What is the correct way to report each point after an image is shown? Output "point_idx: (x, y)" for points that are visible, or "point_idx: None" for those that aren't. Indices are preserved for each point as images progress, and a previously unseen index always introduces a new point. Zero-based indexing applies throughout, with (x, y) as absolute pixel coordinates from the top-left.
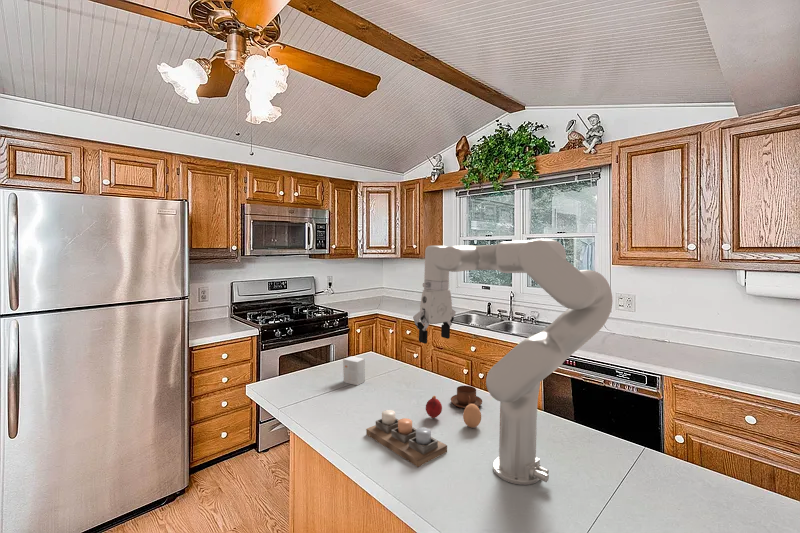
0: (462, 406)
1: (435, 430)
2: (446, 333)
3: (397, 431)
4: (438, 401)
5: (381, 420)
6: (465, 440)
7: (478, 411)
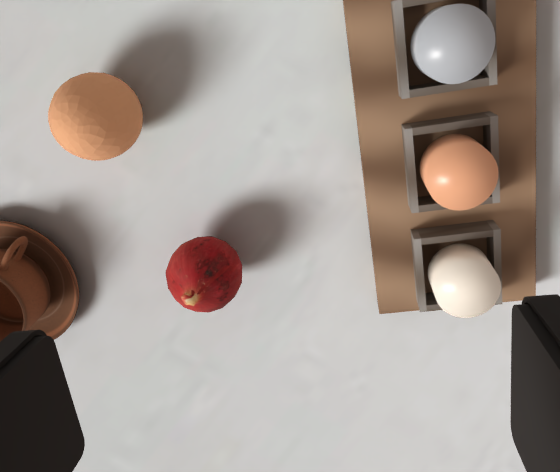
0: (59, 251)
1: (271, 169)
2: (16, 405)
3: None
4: (182, 272)
5: None
6: (213, 31)
7: (67, 87)
